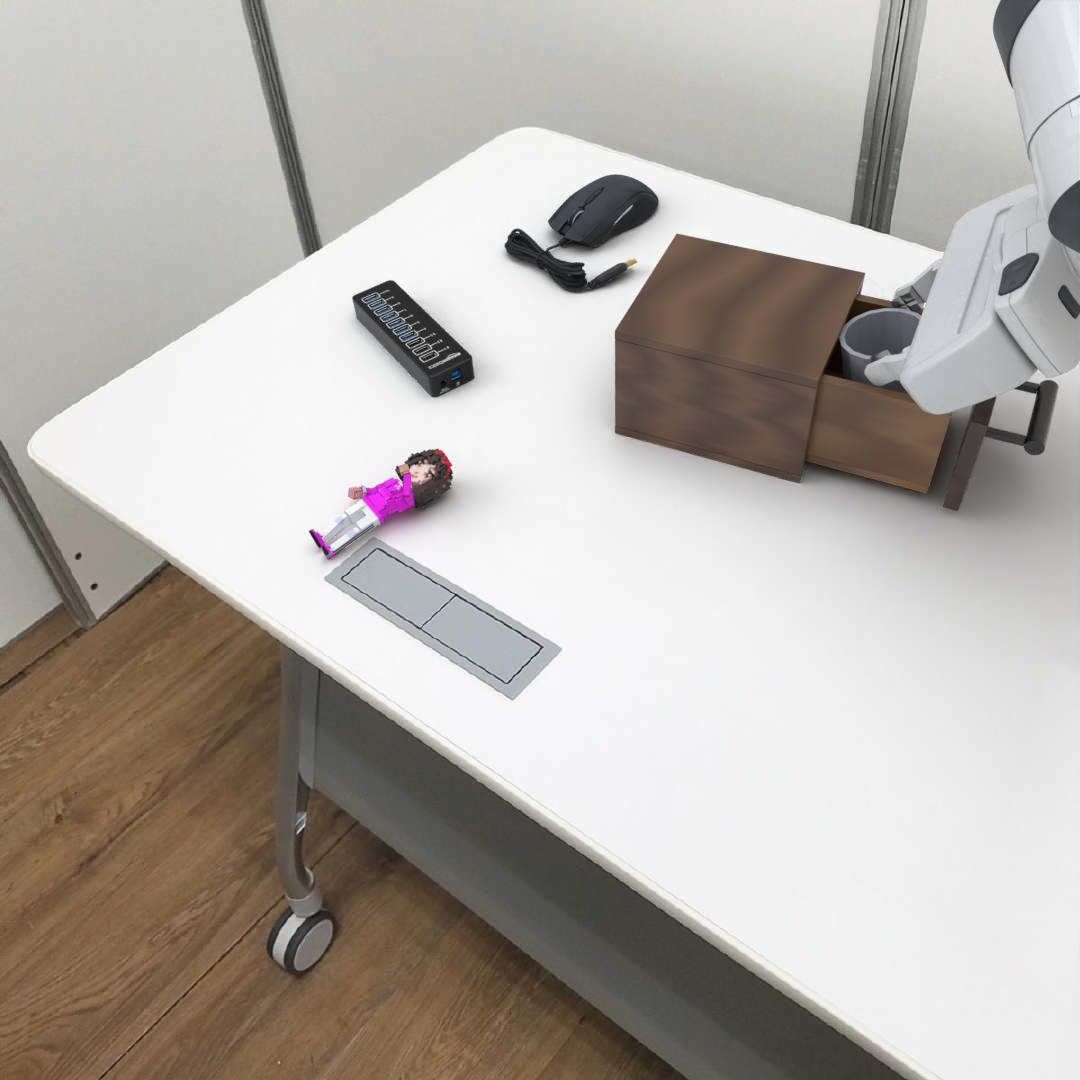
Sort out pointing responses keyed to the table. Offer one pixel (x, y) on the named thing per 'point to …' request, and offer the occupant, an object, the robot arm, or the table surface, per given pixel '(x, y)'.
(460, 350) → the multiport hub
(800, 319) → the cabinet
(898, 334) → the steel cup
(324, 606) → the table surface
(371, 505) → the character figurine
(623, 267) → the computer mouse
